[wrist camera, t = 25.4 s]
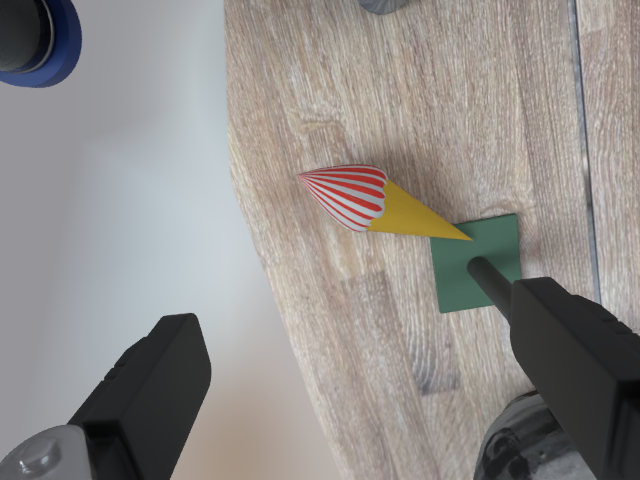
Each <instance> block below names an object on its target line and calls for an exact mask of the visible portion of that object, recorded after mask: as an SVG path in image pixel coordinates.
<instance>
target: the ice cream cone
mask: <svg viewBox="0 0 640 480" xmlns="http://www.w3.org/2000/svg"><path fill="white" fill-rule="evenodd" d="M297 176H298V178H299V179H300V180H301V182H302V183H303V184H304V186H305V187H306V189H307V190H308V191H309V193H310V194H311V195H312V196H313V198H314V199H315V200H316V201H317V202H318V203H319V204H320V206H321V207H322V208H323V209H324V210H325V211H326V212H327V213H328V214H329V215H330V216H331V217H332V218H333V219H334V220H336V221H337V222H338V223H339V224H341V225H342V226H343V227H345V228H347V229H349V230H351V231H354V232H365V231H377V232H387V233H398V234H408V235H419V236H430V237H440V238H451V239H461V240H472V239H471V238H469V237H468V236H467V235H465V234H464V233H462V232H461V231H460V230H458V229H457V228H455V227H454V226H453V225H451V224H450V223H449V222H447V221H446V220H444V219H443V218H442V217H440V216H439V215H437V214H436V213H435V212H433V211H432V210H431V209H429V208H428V207H426V206H425V205H424V204H422V203H421V202H419V201H418V200H417V199H415V198H414V197H412V196H411V195H410V194H408V193H407V192H406V191H404V190H403V189H401V188H400V187H399V186H397V185H396V184H394V183H393V182H392V181H390V180H389V179H388V177H387V175H386V174H385V173H384V172H383V171H382V170H381V169H379V168H377V167H374V166H370V165H359V164H356V165H342V166H333V167H327V168H320V169H316V170H312V171H309V172H305V173H301V174H297ZM472 241H473V240H472Z"/></svg>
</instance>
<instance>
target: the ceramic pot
mask: <svg viewBox="0 0 640 480" xmlns="http://www.w3.org/2000/svg"><path fill="white" fill-rule="evenodd" d="M473 480H597V479H596V478H595V476H594V475H593V473H592V472H591V470H590V469H589V467H588V466H587V464H586V463H585V461H584V460H583V458H582V457H581V455H580V454H579V452H578V451H577V449H576V448H575V446H574V445H573V443H572V442H571V440H570V439H569V437H568V436H567V434H566V433H565V431H564V430H563V428H562V427H561V425H560V424H559V423H558V421H557V420H556V418H555V417H554V415H553V414H552V412H551V411H550V409H549V408H548V406H547V405H546V403H545V402H544V400H543V399H542V397H541V396H540V394H539V393H538V391H534V392H531V393H528V394H525V395H523V396H521V397H519V398H517V399H515V400H513V401H512V402H510V403H509V404H508V405H507V406H506V408H505V410H504V411H503V413H502V414H501V415H500V416H499V417H498V418H497V419H496V420H495V421H494V422H493V423H492V425H491V426H490V428H489V429H488V431H487V433H486V435H485V437H484V439H483V442H482V445H481V448H480V452H479V456H478V459H477V463H476V468H475V473H474V478H473Z"/></svg>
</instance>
